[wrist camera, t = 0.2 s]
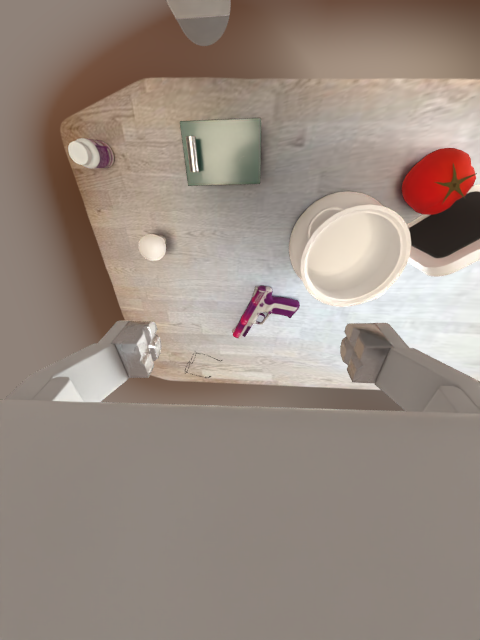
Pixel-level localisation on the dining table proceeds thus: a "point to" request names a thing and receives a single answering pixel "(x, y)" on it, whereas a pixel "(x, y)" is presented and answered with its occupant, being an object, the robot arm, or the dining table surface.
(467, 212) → the computer
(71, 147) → the pill bottle
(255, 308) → the toy gun
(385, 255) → the pot
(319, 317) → the dining table surface
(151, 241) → the light bulb
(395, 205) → the dining table surface
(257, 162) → the lid
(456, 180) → the tomato
